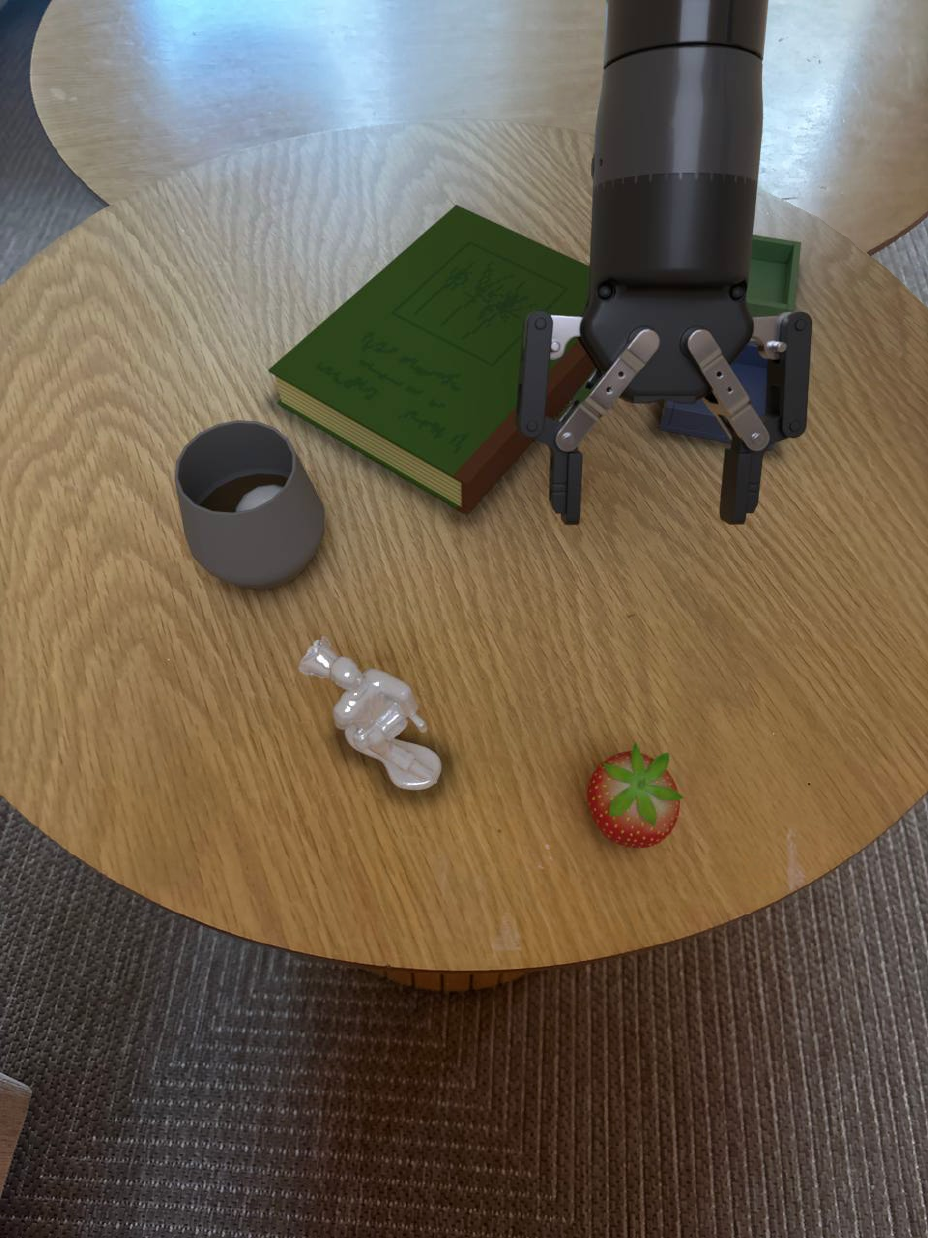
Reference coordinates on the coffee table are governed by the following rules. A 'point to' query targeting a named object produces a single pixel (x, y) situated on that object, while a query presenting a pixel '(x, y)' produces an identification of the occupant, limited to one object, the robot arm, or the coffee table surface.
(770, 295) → the green tray
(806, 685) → the coffee table surface
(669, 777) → the fruit
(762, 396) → the blue tray
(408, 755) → the figurine
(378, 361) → the hardcover book
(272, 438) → the cup
